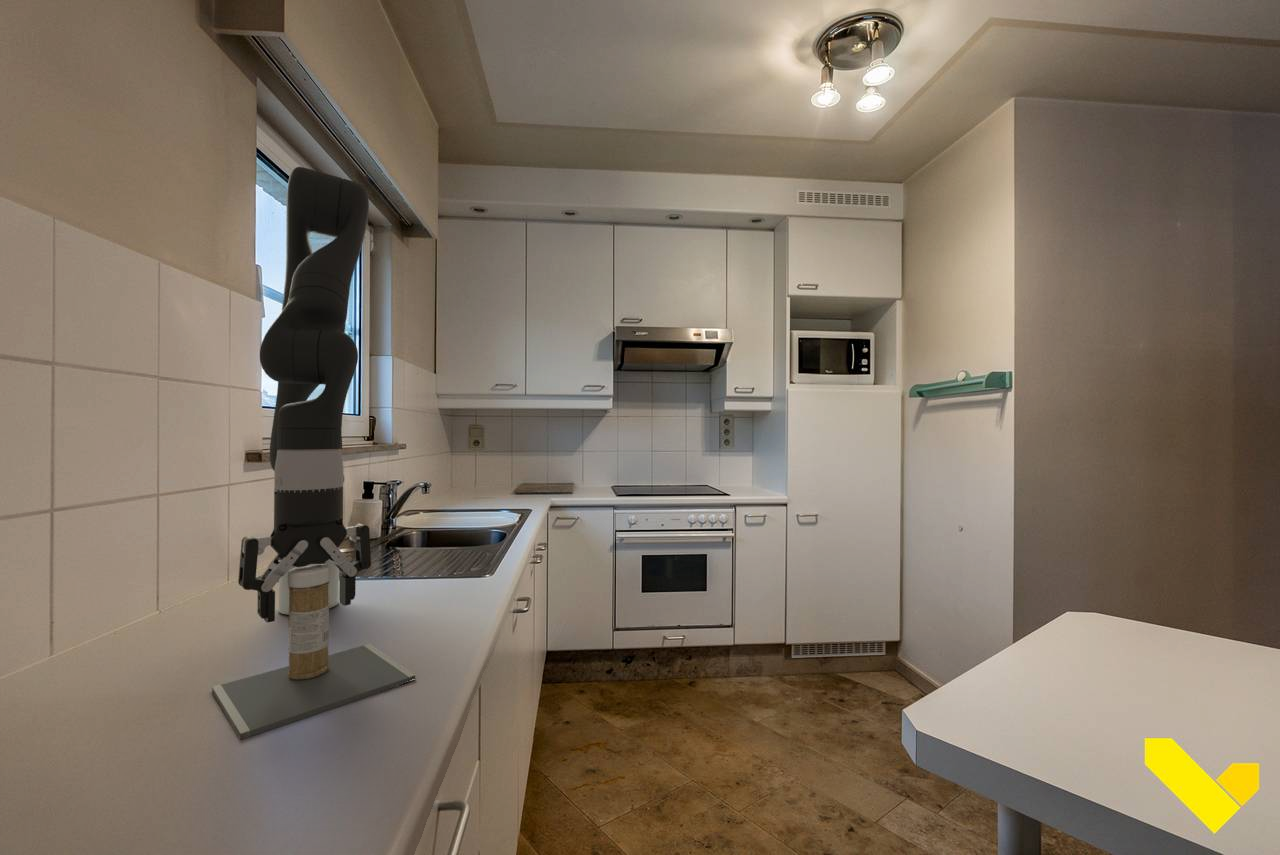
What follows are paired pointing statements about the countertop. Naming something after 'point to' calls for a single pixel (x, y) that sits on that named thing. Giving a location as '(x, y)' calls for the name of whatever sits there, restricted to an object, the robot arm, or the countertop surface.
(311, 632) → the sprinkles bottle
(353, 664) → the mat
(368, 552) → the robot arm
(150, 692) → the countertop surface
